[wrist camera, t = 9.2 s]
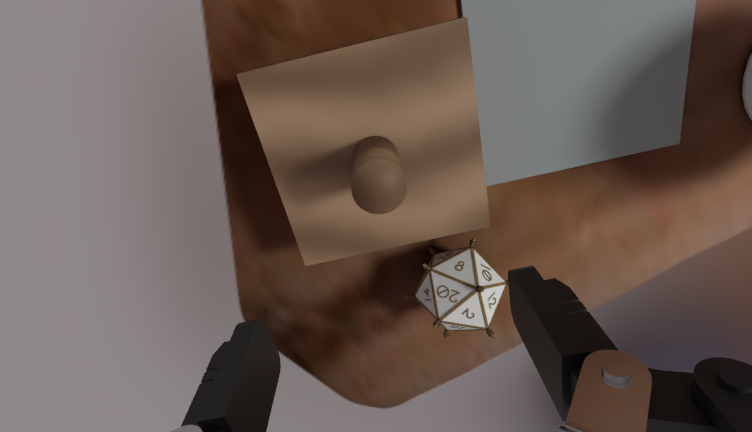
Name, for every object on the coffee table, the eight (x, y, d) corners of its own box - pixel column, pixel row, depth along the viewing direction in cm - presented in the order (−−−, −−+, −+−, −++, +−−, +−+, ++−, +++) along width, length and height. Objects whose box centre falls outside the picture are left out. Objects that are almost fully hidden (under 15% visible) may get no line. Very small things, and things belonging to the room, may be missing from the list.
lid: (240, 72, 26) (202, 87, 20) (463, 17, 25) (497, 14, 19) (307, 259, 33) (294, 315, 27) (486, 220, 32) (517, 269, 26)
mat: (456, -33, 28) (457, -33, 28) (703, -96, 27) (707, -97, 27) (481, 185, 35) (482, 187, 35) (677, 142, 34) (679, 143, 34)
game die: (428, 256, 43) (377, 320, 36) (457, 202, 37) (402, 266, 30) (501, 306, 41) (461, 383, 34) (545, 256, 35) (506, 339, 28)
